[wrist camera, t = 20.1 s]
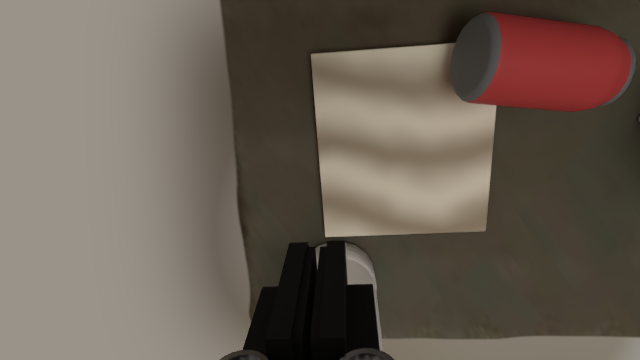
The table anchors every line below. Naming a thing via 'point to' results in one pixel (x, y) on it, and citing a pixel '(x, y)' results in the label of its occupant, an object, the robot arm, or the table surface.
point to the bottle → (359, 273)
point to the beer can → (539, 63)
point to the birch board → (399, 143)
